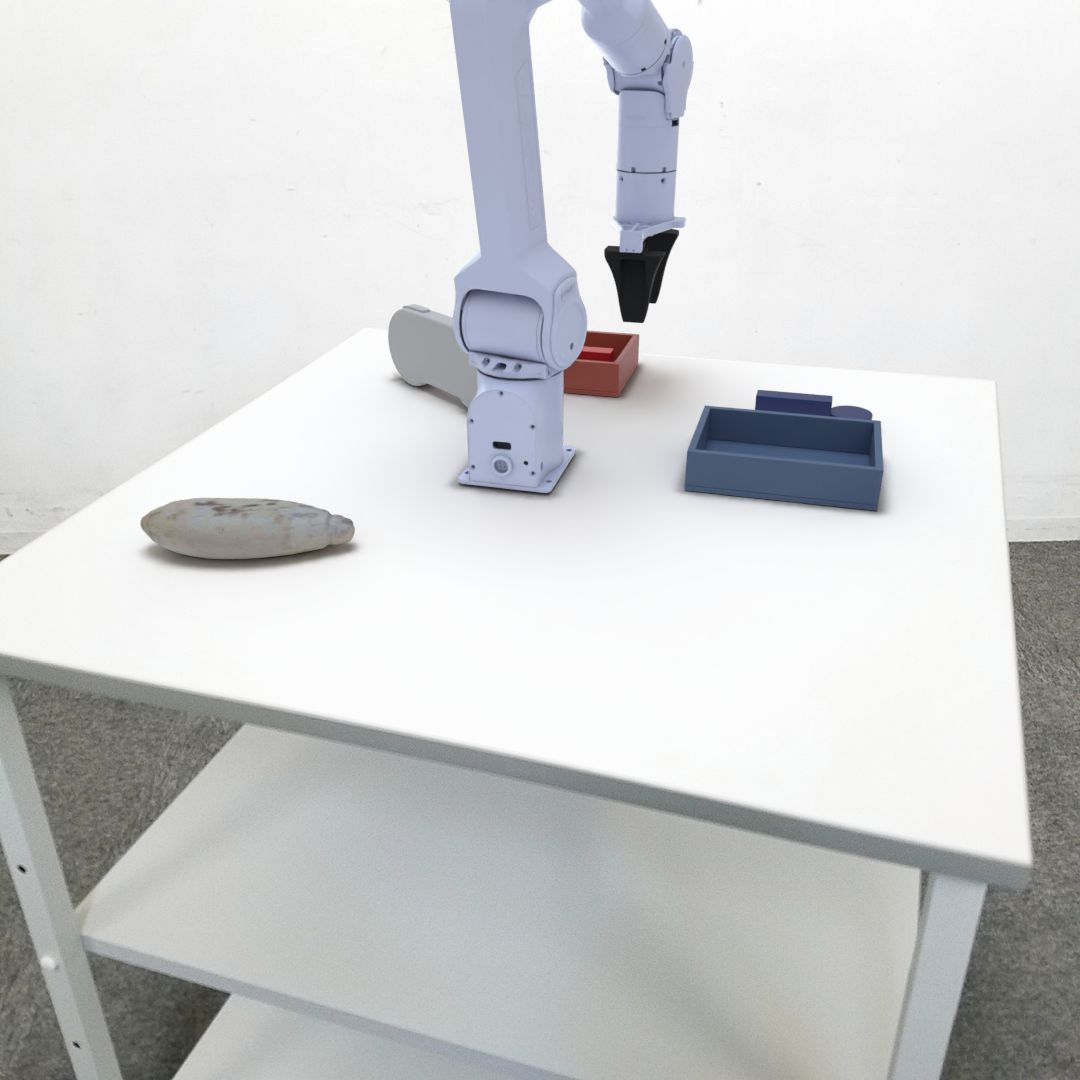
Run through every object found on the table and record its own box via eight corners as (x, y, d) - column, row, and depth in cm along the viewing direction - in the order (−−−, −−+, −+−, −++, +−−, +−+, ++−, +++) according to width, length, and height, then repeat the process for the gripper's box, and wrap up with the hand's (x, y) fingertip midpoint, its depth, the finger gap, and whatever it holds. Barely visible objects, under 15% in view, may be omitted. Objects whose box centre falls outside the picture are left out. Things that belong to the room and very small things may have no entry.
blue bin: (877, 511, 81) (883, 470, 80) (684, 490, 85) (687, 451, 83) (875, 458, 91) (881, 420, 89) (701, 441, 94) (704, 405, 93)
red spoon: (615, 368, 112) (616, 345, 111) (607, 380, 109) (608, 356, 107) (519, 361, 114) (519, 338, 113) (509, 372, 111) (508, 348, 110)
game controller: (518, 420, 99) (517, 336, 96) (499, 426, 98) (497, 340, 94) (407, 371, 113) (403, 295, 109) (389, 376, 111) (384, 299, 108)
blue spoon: (752, 425, 98) (755, 399, 97) (756, 411, 102) (758, 385, 100) (870, 436, 96) (874, 409, 94) (870, 421, 99) (874, 395, 98)
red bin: (618, 397, 105) (619, 364, 104) (476, 385, 109) (475, 352, 107) (638, 364, 115) (639, 334, 113) (507, 354, 118) (506, 324, 117)
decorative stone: (351, 564, 74) (347, 522, 72) (131, 570, 73) (122, 526, 71) (360, 526, 79) (357, 486, 78) (155, 531, 78) (147, 490, 77)
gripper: (677, 182, 91) (669, 333, 97) (697, 160, 103) (689, 296, 109) (598, 179, 92) (595, 328, 98) (628, 158, 105) (623, 292, 111)
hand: (640, 311), depth 104 cm, fingers open, 7 cm apart
